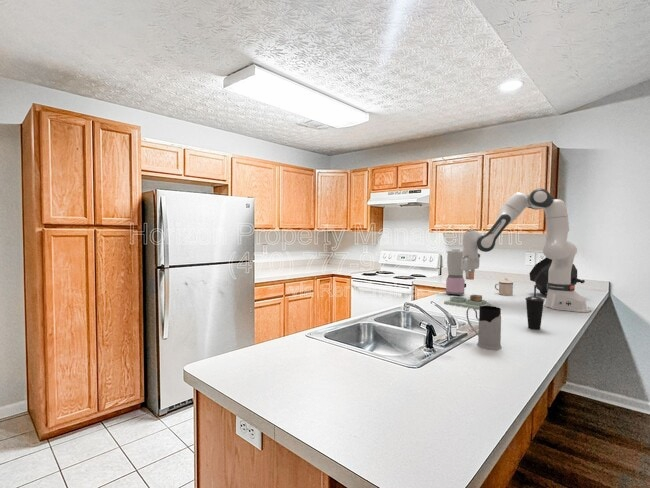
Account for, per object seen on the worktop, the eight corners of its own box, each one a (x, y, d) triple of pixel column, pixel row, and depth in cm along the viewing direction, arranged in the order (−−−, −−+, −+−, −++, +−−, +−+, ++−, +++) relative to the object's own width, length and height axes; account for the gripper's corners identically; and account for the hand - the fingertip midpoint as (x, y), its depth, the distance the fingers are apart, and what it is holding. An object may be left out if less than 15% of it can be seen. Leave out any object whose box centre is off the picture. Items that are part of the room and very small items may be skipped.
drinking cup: (526, 325, 169) (527, 283, 168) (545, 328, 164) (546, 285, 164) (523, 328, 163) (524, 285, 163) (542, 331, 158) (543, 286, 158)
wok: (545, 293, 229) (521, 267, 247) (553, 310, 246) (531, 285, 264) (587, 269, 222) (559, 244, 240) (592, 289, 239) (566, 264, 257)
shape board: (490, 306, 212) (490, 300, 212) (480, 309, 202) (480, 303, 202) (454, 300, 228) (454, 295, 227) (444, 303, 218) (444, 298, 218)
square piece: (481, 303, 211) (482, 295, 211) (478, 305, 207) (478, 296, 207) (473, 302, 214) (473, 294, 214) (470, 303, 211) (470, 295, 211)
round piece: (475, 279, 230) (475, 271, 230) (472, 279, 227) (472, 271, 227) (467, 278, 234) (467, 270, 234) (464, 279, 230) (464, 271, 230)
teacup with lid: (514, 294, 251) (515, 278, 250) (510, 296, 244) (510, 279, 244) (496, 292, 259) (497, 276, 259) (492, 294, 253) (492, 277, 252)
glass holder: (494, 351, 132) (495, 311, 131) (460, 341, 143) (460, 304, 143) (506, 346, 137) (507, 308, 137) (472, 337, 149) (472, 302, 148)
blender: (445, 295, 246) (446, 249, 245) (445, 292, 258) (446, 248, 257) (470, 297, 241) (471, 250, 240) (469, 294, 253) (469, 249, 252)
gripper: (468, 256, 220) (467, 278, 221) (481, 254, 235) (481, 275, 235) (458, 255, 225) (457, 277, 225) (471, 254, 239) (471, 274, 239)
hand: (469, 276), depth 230 cm, fingers closed on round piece, 5 cm apart
